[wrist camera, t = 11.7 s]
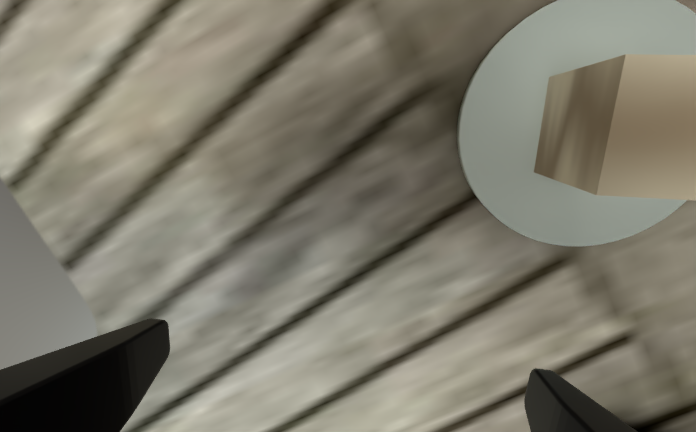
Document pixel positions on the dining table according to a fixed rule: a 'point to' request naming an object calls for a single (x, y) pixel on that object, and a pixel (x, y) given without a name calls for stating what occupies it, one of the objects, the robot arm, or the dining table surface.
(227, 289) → the dining table surface
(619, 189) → the birch block
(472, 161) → the dish
